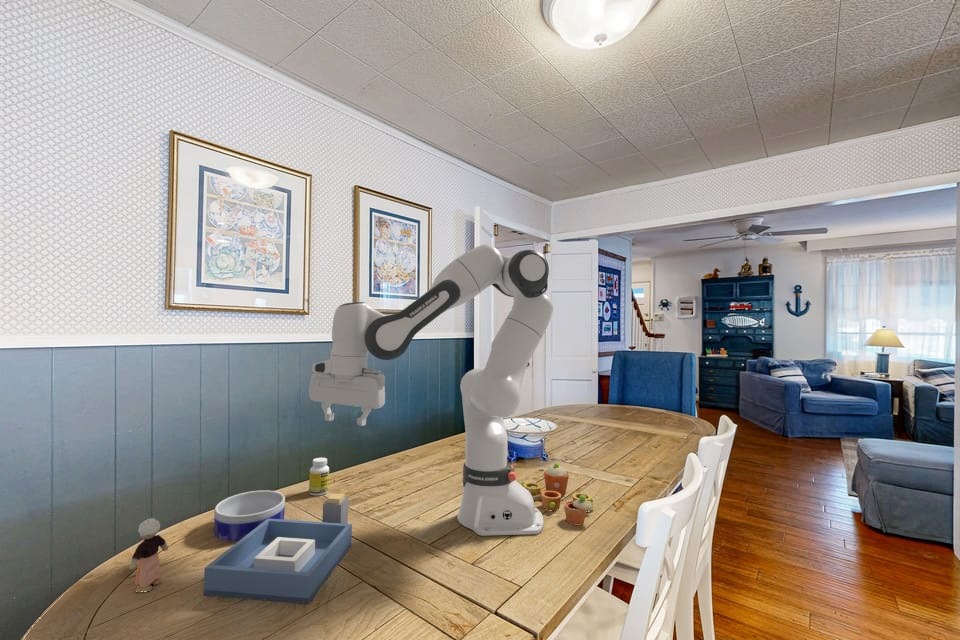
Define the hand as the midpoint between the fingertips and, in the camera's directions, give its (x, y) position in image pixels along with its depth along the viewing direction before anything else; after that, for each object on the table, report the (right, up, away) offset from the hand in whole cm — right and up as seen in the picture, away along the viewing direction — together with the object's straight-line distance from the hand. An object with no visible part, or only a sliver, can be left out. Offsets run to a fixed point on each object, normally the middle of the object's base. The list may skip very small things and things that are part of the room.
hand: (345, 422), depth 105 cm
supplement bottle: (-14, -26, +21) cm, 36 cm away
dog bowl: (-23, -26, -1) cm, 35 cm away
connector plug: (-1, -26, -3) cm, 26 cm away
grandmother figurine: (-29, -25, -25) cm, 46 cm away
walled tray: (-7, -26, -18) cm, 32 cm away
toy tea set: (+57, -28, +17) cm, 66 cm away
